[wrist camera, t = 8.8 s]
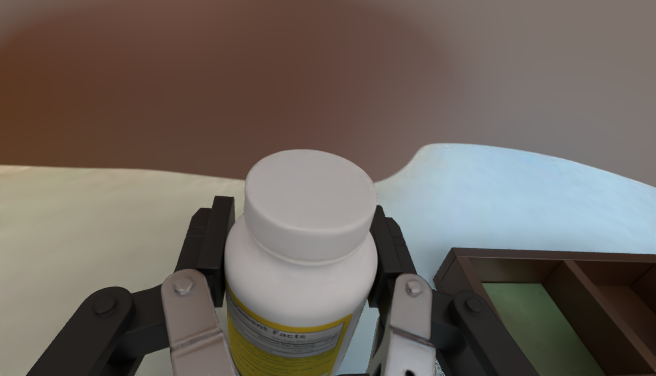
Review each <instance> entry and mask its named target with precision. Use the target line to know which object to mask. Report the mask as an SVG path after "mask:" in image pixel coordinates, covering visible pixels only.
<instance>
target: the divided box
mask: <svg viewBox="0 0 656 376" xmlns="http://www.w3.org/2000/svg"><path fill="white" fill-rule="evenodd" d="M433 280H434V283H435V285H436V288H437V290H438V292H442V293H445V294H448V295H451V296H455V294H456V293H457V292H459V291H461V290H469V291H472V292H475V293H477V294H478V295H480V296H481V297H482V298H483V299H484V300H485V301H486V302H487V303H488V304H489V306H490V307H491V309H492V310H493V311H494V313H495V314H496V316H497V317H498V318H499V320H500V321H501V322H502V324H503V325H504V327H505V328H506V329H507V331H508V332H509V334H510V335H511V336H512V338H513V339H514V340H515V342H516V343H517V345H518V346H519V347H520V349H521V350H522V352H523V353H524V354H525V356H526V357H527V358H528V360H529V361H530V363H531V364H532V365H533V367H534V368H535V370H536V371H537V372H538V374H539V375H540V376H656V254H630V253H600V252H570V251H540V250H511V249H481V248H451V250H450V251H449V253H448V255H447V256H446V258H445V260H444V261H443V263H442V265H441V266H440V268H439V270H438V271H437V273H436V275H435V276H434V278H433Z"/></svg>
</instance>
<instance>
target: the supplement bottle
mask: <svg viewBox="0 0 656 376" xmlns="http://www.w3.org/2000/svg"><path fill="white" fill-rule="evenodd" d="M376 206H377V192H376V189H375V186H374V184H373V182H372V180H371V179H370V178H369V176H368V175H367V174H366V173H365V172H364V171H363V170H362V169H360V168H359V167H358V166H356V165H355V164H354V163H352V162H350V161H349V160H346V159H344V158H342V157H339V156H337V155H334V154H331V153H327V152H322V151H317V150H306V149H297V150H287V151H282V152H278V153H275V154H272V155H269V156H267V157H265V158H263V159H262V160H260V161H259V162H258V163H256V164H255V165H254V166H253V167H252V169H251V170H250V172H249V174H248V176H247V178H246V182H245V203H244V213H243V214H242V215H241V216H240V217H239V218H238V219H237V220H236V222H235V223H234V225H233V226H232V228H231V230H230V232H229V234H228V237H227V240H226V243H225V249H224V276H225V289H226V304H227V319H228V332H229V344H230V353H231V358H232V361H233V365H234V368H235V370H236V372H237V374H238V376H335V375H336V373H337V371H338V369H339V367H340V365H341V363H342V361H343V359H344V356H345V354H346V351H347V349H348V346H349V344H350V341H351V339H352V336H353V334H354V331H355V329H356V326H357V324H358V321H359V318H360V316H361V313H362V311H363V308H364V306H365V303H366V301H367V298H368V296H369V293H370V291H371V288H372V286H373V283H374V279H375V275H376V272H377V264H378V262H377V250H376V246H375V242H374V240H373V237H372V235H371V233H370V231H369V229H370V226H371V223H372V220H373V217H374V213H375V210H376Z"/></svg>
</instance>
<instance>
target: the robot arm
mask: <svg viewBox="0 0 656 376" xmlns="http://www.w3.org/2000/svg"><path fill="white" fill-rule="evenodd" d="M234 223H235V205H234V197H227V196H215V198H214V201H213V205H212V208H200V209H199V210H198V211H197V212H196V213H195V214H194V215H193V216H192V219H191V222H190V225H189V229H188V231H187V234H186V238H185V240H184V244H183V247H182V250H181V253H180V256H179V259H178V262H177V265H176V268H175V271H174V272H173V274H172V275H170V276H169V277H168V278H167V279H166V280H165V281H164V283H162V284H160V285H159V286H156V287H154V288H151V289H147V290H143V291H139V292H135V293H130V292H129V291H128V290H127V289H125V288H122V287H116V286H115V287H107V288H103V289H101V290H98V291H96V292H94V293H93V294H91V295H90V296H89V297H88V298H86V299H85V300H84V302H83V303H82V304H81V305H80V307H79V308H78V309H77V310H76V312H75V313H74V314H73V316H72V317H71V318H70V319H69V321H68V322H67V323H66V325H65V326H64V327H63V328H62V330H61V331H60V332H59V334H58V335H57V336H56V337H55V339H54V340H53V341H52V343H51V344H50V345H49V346H48V348H47V349H46V350H45V352H44V353H43V354H42V355H41V357H40V358H39V359H38V361H37V362H36V363H35V364H34V366H33V367H32V368H31V370H30V371H29V372H28V373H27V375H26V376H134V375H135V373H136V371H137V369H138V367H139V365H140V363H141V362H142V360H143V358H144V356H145V355H146V354H149V353H152V352H155V351H158V350H161V349H164V348H167V347H170V355H171V362H172V368H173V374H174V376H237V375H236V371H235V368H234V365H233V361H232V358H231V355H230V351H229V348H228V345H227V341H226V338H225V335H224V332H223V330H221V328H220V325H219V321H218V318H217V315H216V311H215V307H222V305H223V299H224V294H225V276H224V249H225V243H226V240H227V237H228V234H229V232H230V230H231V228H232V226H233V225H234ZM369 231H370V233H371V235H372V237H373V240H374V242H375V246H376V250H377V262H378V264H377V272H376V275H375V279H374V283H373V286H372V288H371V291H370V293H369V296H368V298H367V299H368V303H369V308H378V310H379V314H380V315H379V317H378V319H377V324H376V329H375V334H374V339H373V344H372V349H371V354H370V359H369V364H368V367H367V370H366V373H364V374H340V375H338V376H435V360H436V359H437V361H438V363H439V365H440V367H441V369H442V370H443V372H444V374H445V376H540V375H539V374H538V372H537V371H536V370H535V368H534V367H533V365H532V364H531V363H530V361H529V360H528V358H527V357H526V356H525V354H524V353H523V352H522V350H521V349H520V347H519V346H518V345H517V343H516V342H515V340H514V339H513V338H512V336H511V335H510V334H509V332H508V331H507V329H506V328H505V327H504V325H503V324H502V322H501V321H500V320H499V318H498V317H497V316H496V314H495V313H494V311H493V310H492V309H491V307H490V306H489V304H488V303H487V302H486V301H485V300H484V299H483V298H482V297H481V296H480V295H478V294H477V293H475V292H472V291H469V290H461V291H459V292H457V293H456V294H455V296H451V295H448V294H445V293H442V292H438V291H436V290H433V289H431V287H430V286H429V284H428V283H427V281H426V280H424V279H423V278H422V277H420V276H419V275H417V272H416V270H415V267H414V264H413V262H412V259H411V256H410V254H409V251H408V248H407V246H406V243H405V240H404V238H403V235H402V232H401V229H400V227H399V225H398V224H397V223H396V222H395V221H394V220H393V218H390V217H385V215H384V212H383V209H382V206H380V205H377V206H376V210H375V213H374V217H373V220H372V223H371V226H370V229H369Z"/></svg>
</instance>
